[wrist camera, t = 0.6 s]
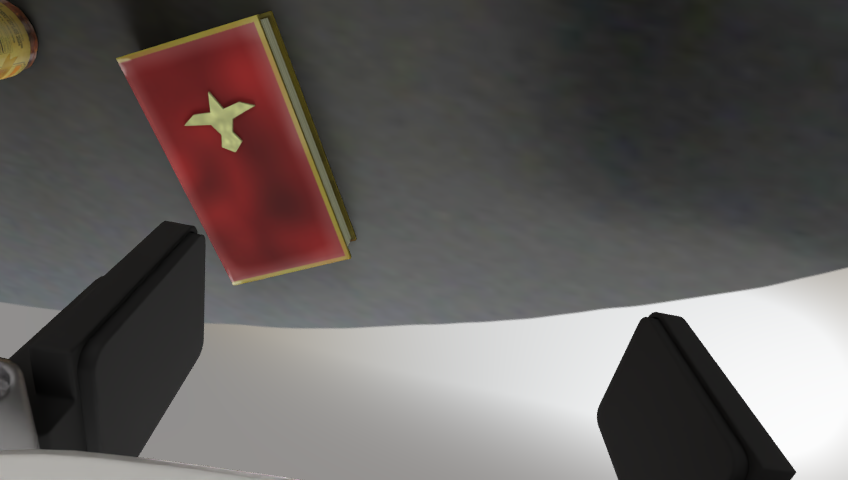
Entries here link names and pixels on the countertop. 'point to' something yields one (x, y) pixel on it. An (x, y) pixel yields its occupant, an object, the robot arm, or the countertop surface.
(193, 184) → the hardcover book
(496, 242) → the countertop surface
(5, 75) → the sauce bottle
